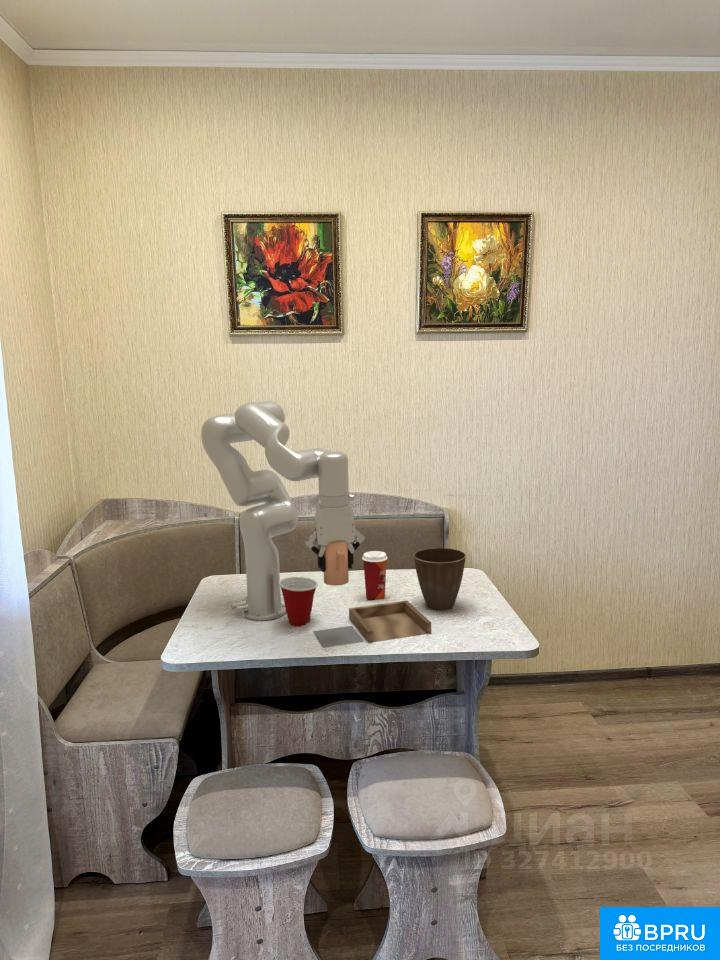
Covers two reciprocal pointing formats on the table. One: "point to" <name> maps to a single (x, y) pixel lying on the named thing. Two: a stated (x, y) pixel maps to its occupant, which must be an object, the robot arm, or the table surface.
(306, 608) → the plastic cup
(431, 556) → the plant pot
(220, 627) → the table surface
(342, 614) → the table surface
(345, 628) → the coaster
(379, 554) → the paper cup
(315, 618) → the table surface
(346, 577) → the tan tapered cylinder
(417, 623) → the brown tray
